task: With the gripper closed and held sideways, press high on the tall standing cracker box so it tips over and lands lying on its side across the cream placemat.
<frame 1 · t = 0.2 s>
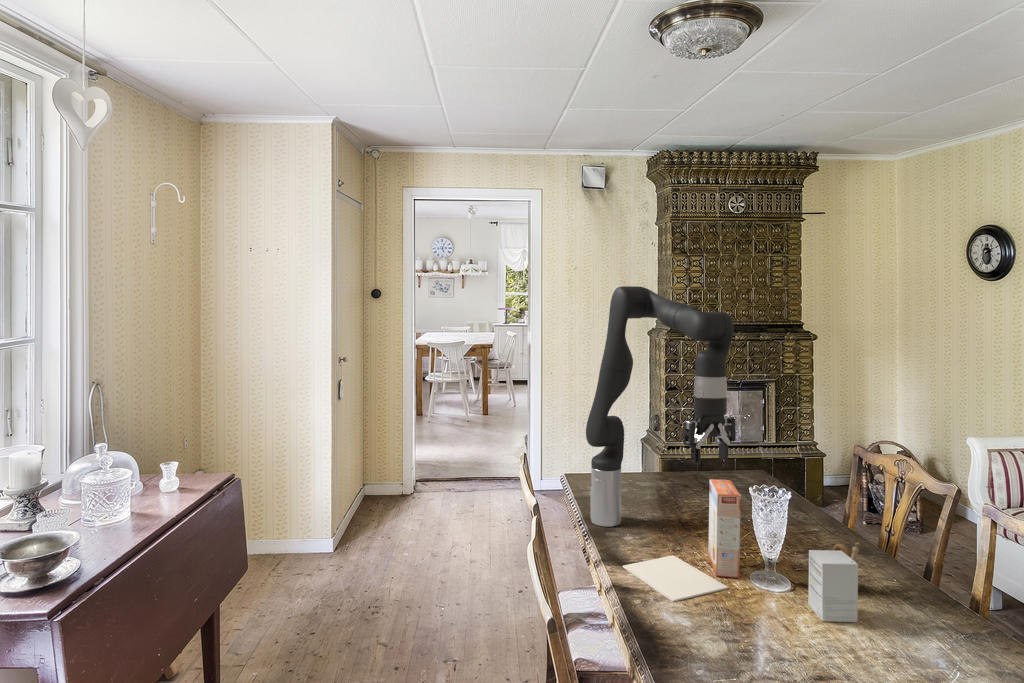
hand: (709, 461, 141), 29 cm above the table, tool pointing down, fingers open, 8 cm apart
supplement box: (831, 614, 126), on the table
cracker box: (723, 567, 150), on the table
cream placemat: (673, 577, 144), on the table
snail figurine: (844, 589, 138), on the table
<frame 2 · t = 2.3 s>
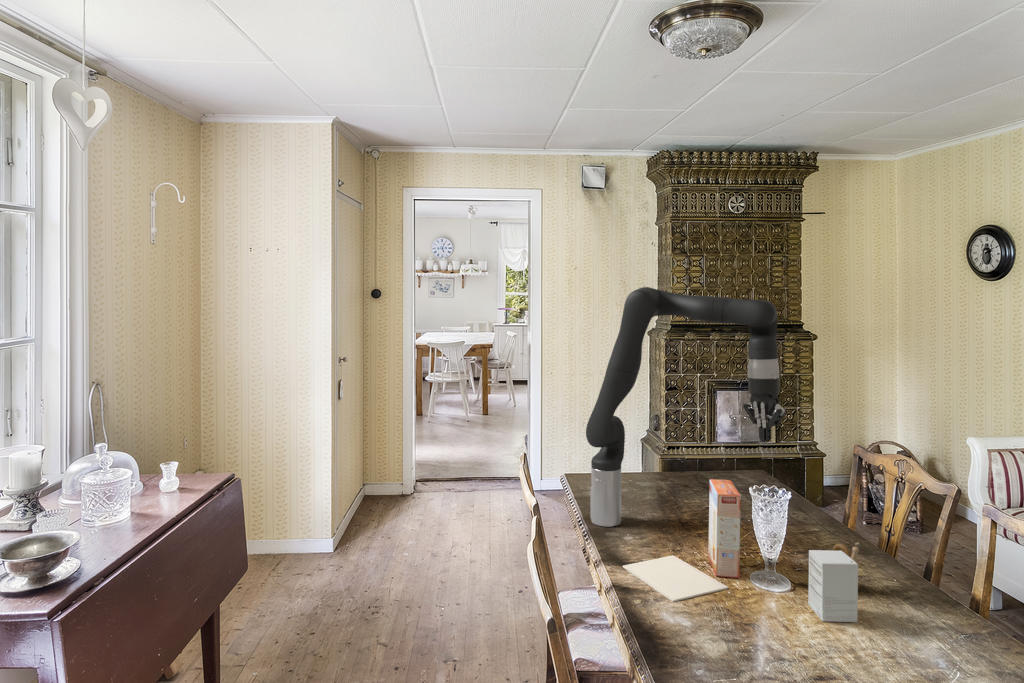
hand: (765, 441, 154), 31 cm above the table, tool pointing down, fingers closed
nothing on the table moved.
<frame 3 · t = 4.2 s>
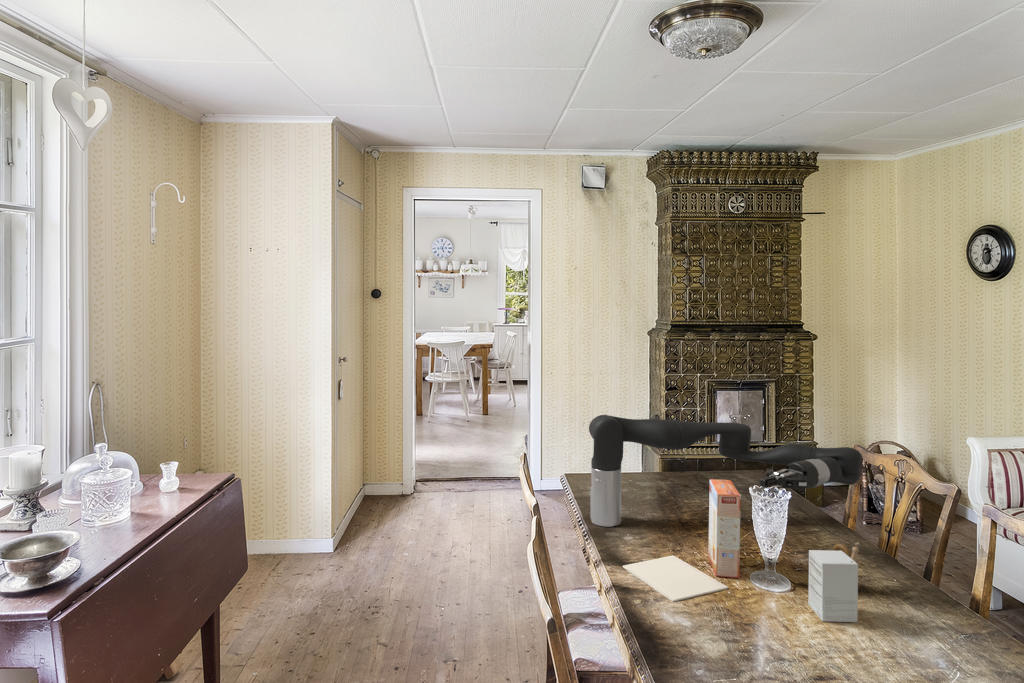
hand: (762, 483, 154), 20 cm above the table, tool horizontal, fingers closed
nothing on the table moved.
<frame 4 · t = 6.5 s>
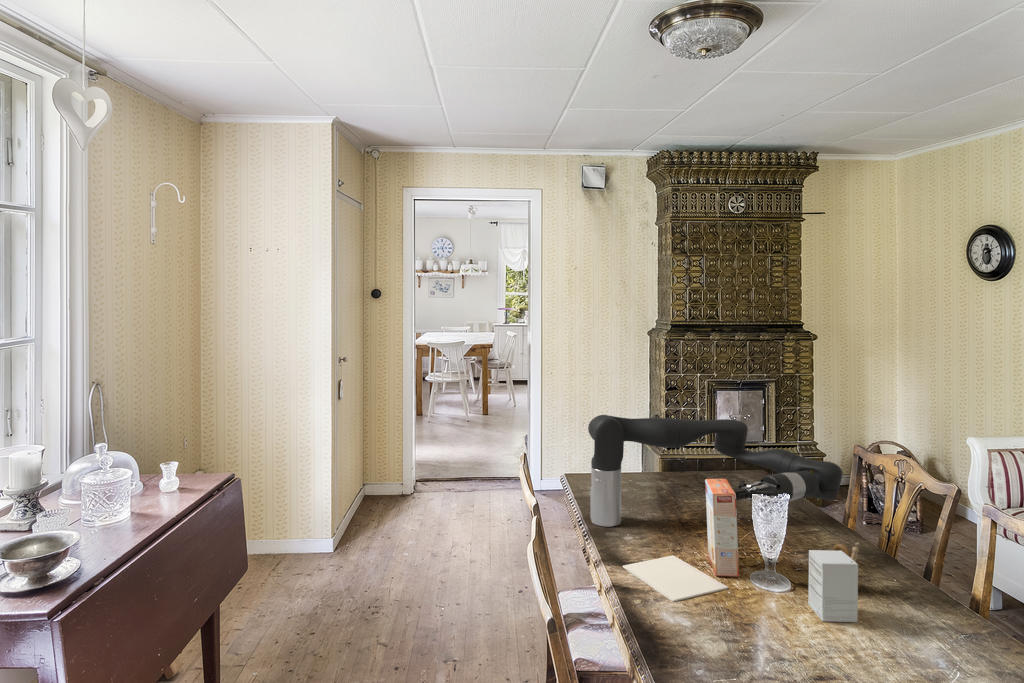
hand: (733, 495, 151), 18 cm above the table, tool horizontal, fingers closed
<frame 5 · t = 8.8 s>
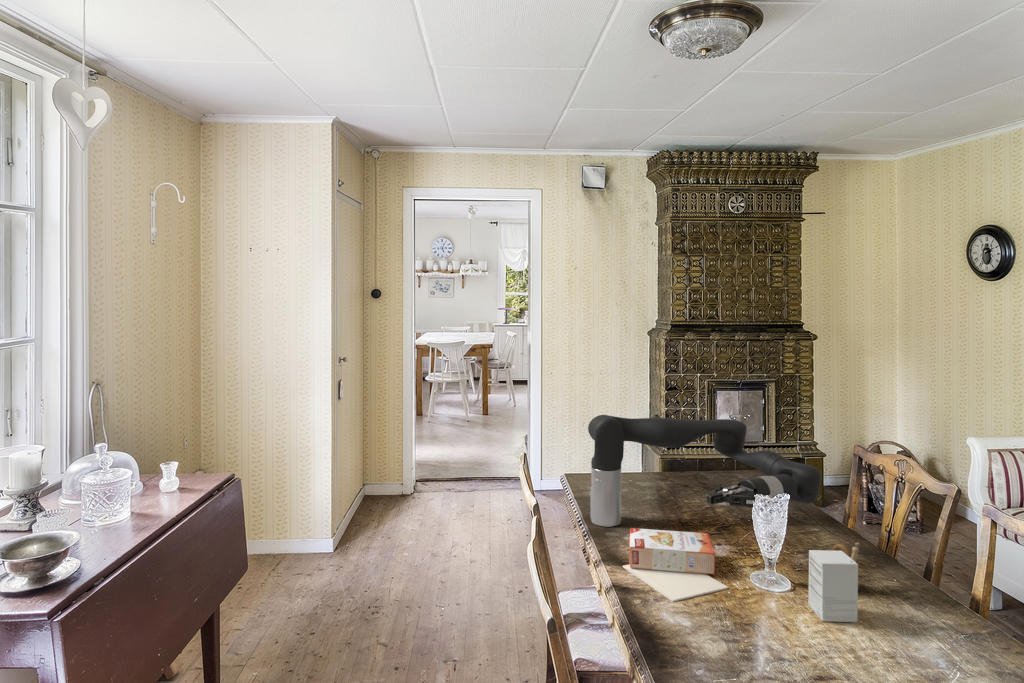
hand: (708, 499, 148), 18 cm above the table, tool horizontal, fingers closed
cracker box: (712, 552, 151), point 3 cm above the table, touching cream placemat
everything else where it was.
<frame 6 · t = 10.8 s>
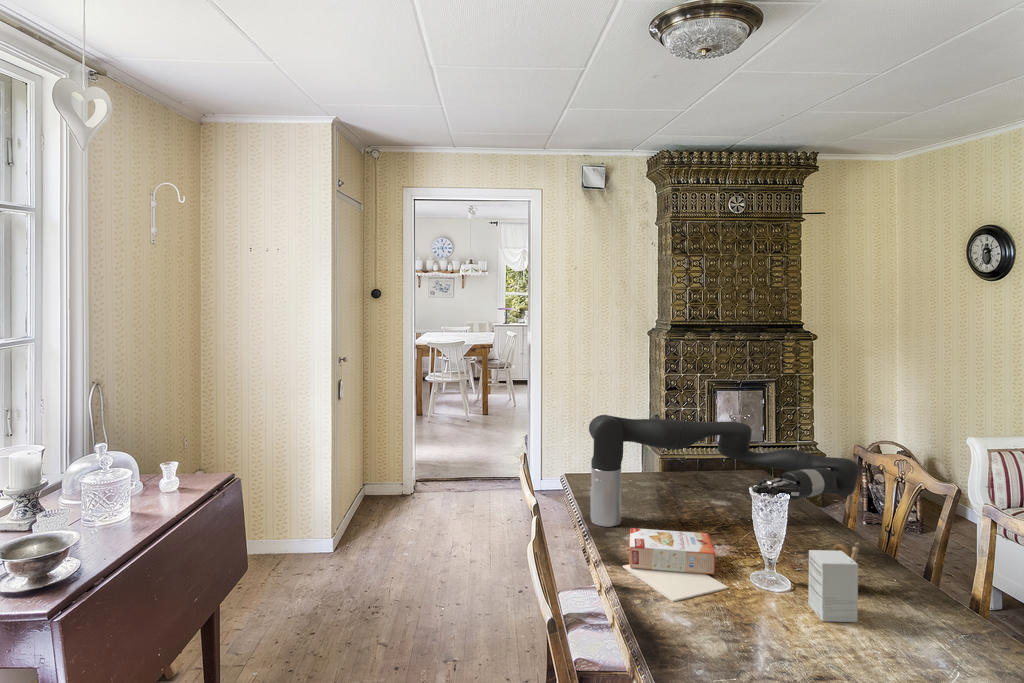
hand: (754, 491, 154), 18 cm above the table, tool horizontal, fingers closed
nothing on the table moved.
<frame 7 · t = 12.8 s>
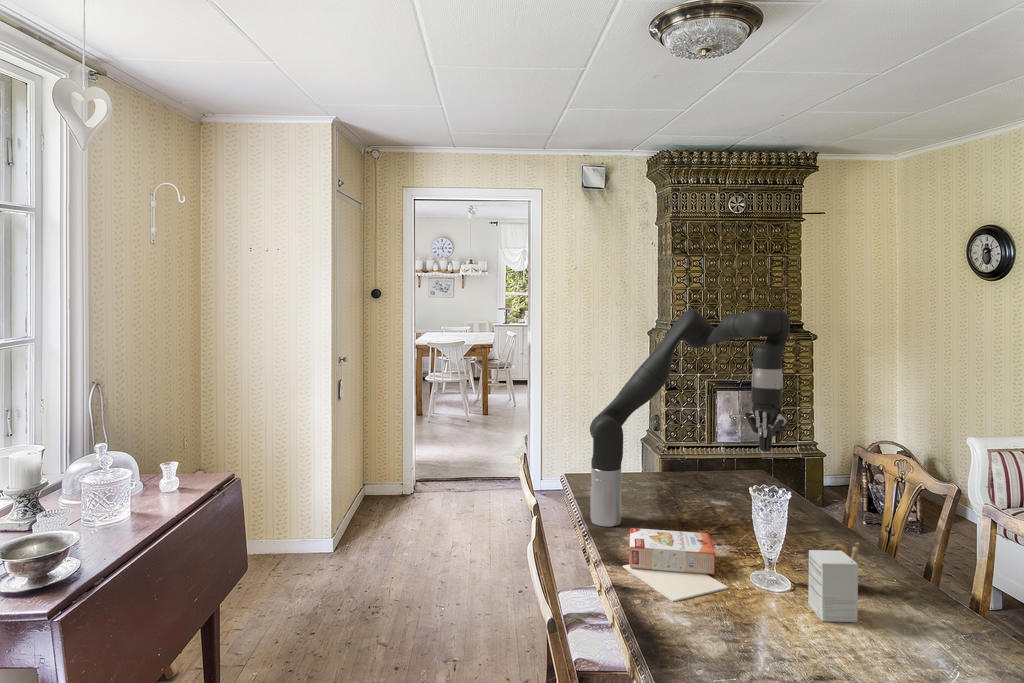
hand: (765, 450, 155), 29 cm above the table, tool pointing down, fingers closed
nothing on the table moved.
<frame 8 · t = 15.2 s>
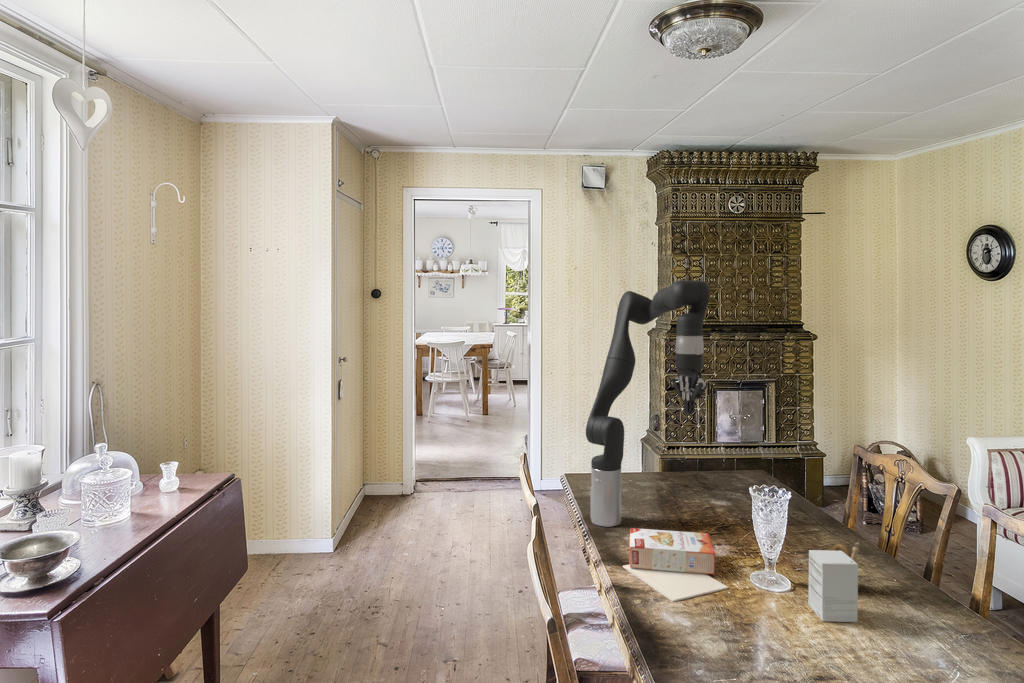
hand: (689, 413, 164), 37 cm above the table, tool pointing down, fingers closed
nothing on the table moved.
at the end: cracker box tilted 91°; cracker box touching cream placemat; cracker box inside the target area (6.8 cm from its centre), point 3.5 cm above the table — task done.
